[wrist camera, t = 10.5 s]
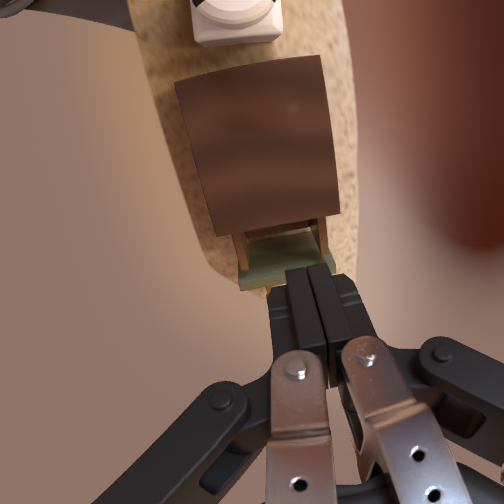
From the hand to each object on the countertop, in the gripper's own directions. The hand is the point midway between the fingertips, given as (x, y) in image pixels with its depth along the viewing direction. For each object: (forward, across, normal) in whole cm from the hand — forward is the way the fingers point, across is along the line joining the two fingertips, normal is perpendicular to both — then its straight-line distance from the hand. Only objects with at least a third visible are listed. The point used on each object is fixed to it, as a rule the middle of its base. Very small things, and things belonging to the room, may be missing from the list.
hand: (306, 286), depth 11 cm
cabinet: (+25, 0, -1) cm, 25 cm away
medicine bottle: (+25, 0, -14) cm, 29 cm away
